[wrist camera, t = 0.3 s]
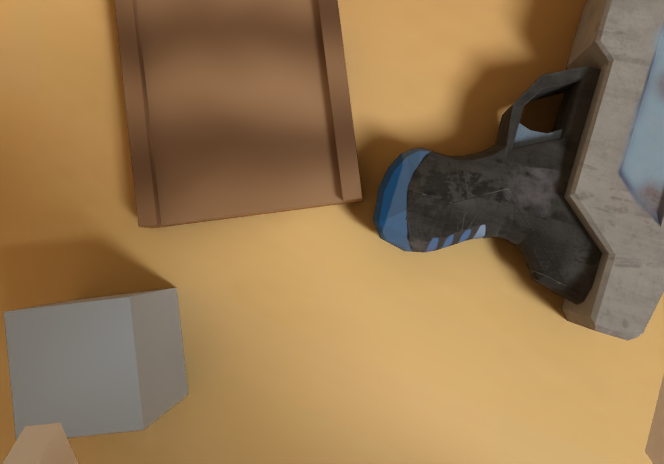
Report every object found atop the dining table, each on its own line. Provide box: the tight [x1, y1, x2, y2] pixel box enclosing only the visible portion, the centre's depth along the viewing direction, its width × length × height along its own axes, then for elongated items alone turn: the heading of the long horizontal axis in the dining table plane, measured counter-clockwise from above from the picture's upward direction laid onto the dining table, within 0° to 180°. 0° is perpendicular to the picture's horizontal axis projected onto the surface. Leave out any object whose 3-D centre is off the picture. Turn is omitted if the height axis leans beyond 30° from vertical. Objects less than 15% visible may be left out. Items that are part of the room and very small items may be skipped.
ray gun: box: [373, 0, 664, 340], centre depth 27 cm, size 4×19×15 cm
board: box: [114, 0, 362, 228], centre depth 29 cm, size 19×12×2 cm, turn 7°
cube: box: [4, 288, 188, 440], centre depth 27 cm, size 6×6×6 cm
